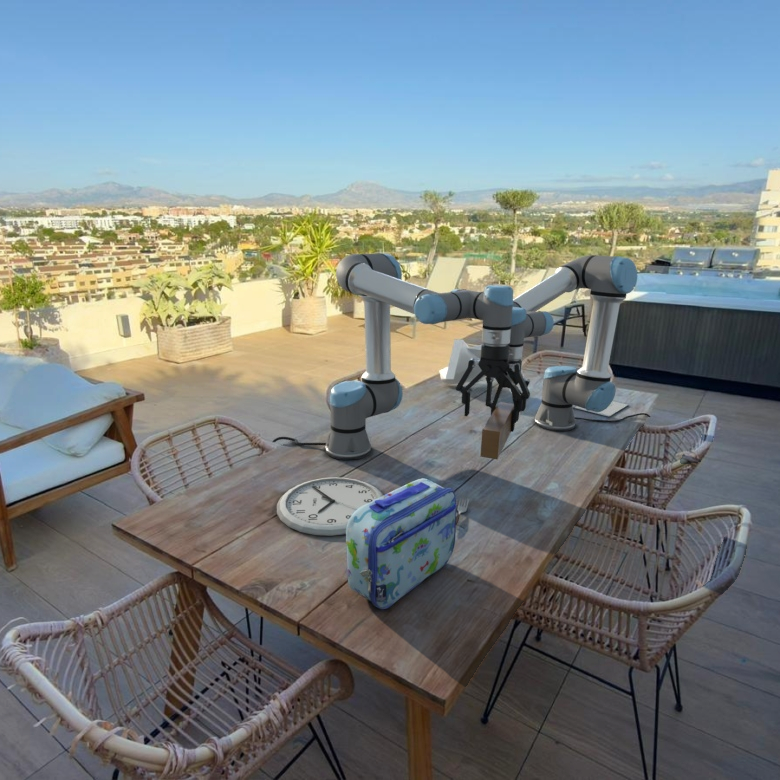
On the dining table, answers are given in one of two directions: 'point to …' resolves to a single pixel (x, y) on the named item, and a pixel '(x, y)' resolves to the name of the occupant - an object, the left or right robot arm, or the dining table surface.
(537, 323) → the right robot arm
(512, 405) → the bar
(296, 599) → the dining table surface
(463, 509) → the fork
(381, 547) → the lunch box
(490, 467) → the dining table surface
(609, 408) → the invitation card
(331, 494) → the wall clock
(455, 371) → the white plastic object
